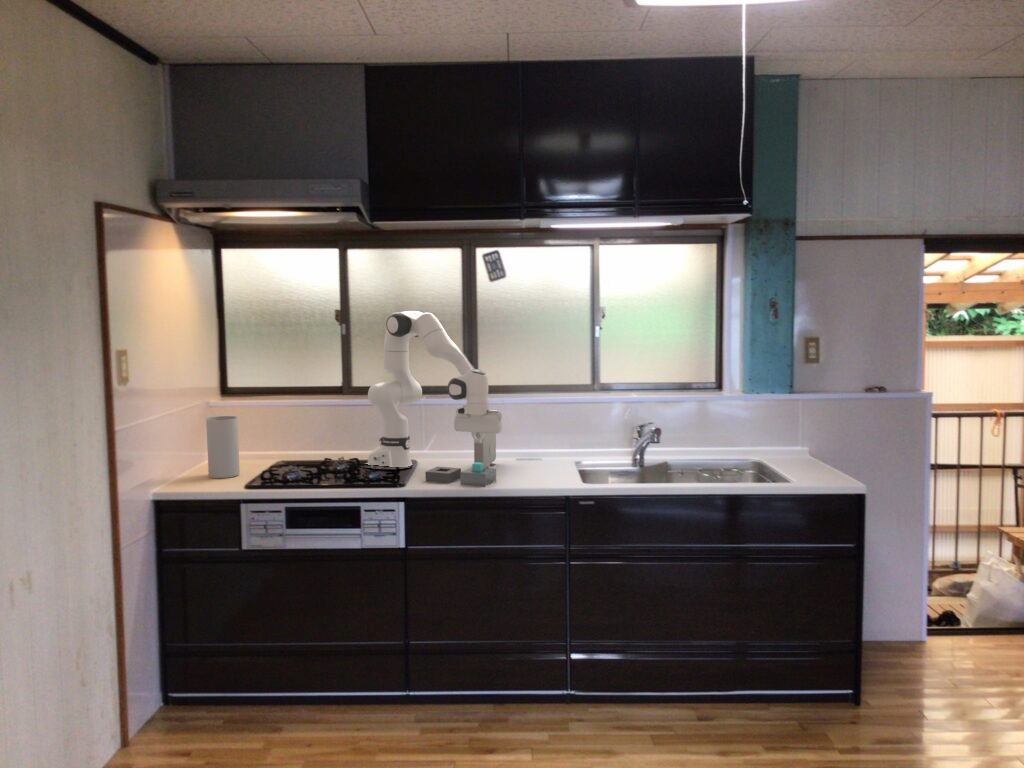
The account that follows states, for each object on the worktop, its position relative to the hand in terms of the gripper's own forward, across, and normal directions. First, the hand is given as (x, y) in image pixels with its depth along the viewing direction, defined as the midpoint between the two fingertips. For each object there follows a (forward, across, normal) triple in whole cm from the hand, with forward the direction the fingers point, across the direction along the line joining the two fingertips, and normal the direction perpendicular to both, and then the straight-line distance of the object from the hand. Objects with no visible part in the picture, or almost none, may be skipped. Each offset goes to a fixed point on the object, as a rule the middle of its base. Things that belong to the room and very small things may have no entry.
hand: (478, 443), depth 313 cm
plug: (+16, 0, 0) cm, 16 cm away
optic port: (+16, 0, 0) cm, 16 cm away
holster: (+16, +16, 0) cm, 23 cm away
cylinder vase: (+16, +108, +27) cm, 112 cm away
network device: (+17, +9, -26) cm, 32 cm away
